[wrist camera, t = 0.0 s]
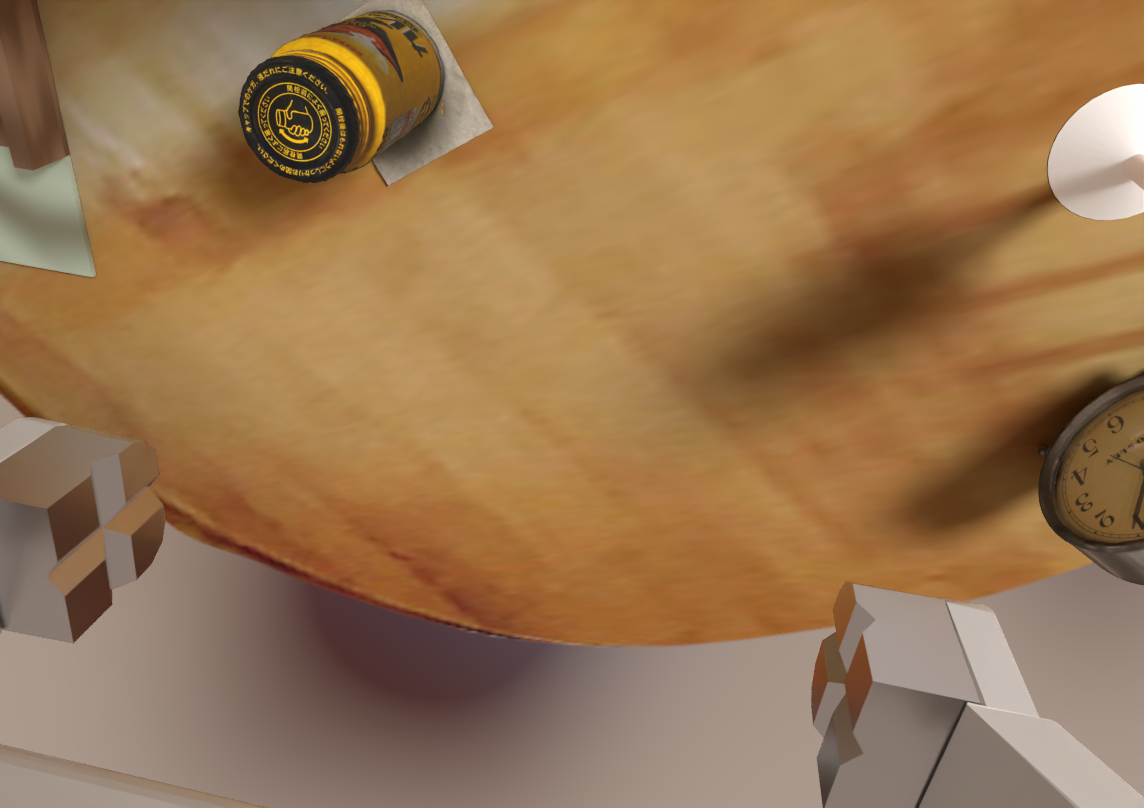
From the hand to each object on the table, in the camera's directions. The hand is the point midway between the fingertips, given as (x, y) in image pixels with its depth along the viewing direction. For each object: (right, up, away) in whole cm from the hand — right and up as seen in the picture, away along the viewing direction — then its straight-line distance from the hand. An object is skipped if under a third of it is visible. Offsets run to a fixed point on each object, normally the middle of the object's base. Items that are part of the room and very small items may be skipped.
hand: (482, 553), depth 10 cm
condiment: (-8, +19, +37) cm, 42 cm away
